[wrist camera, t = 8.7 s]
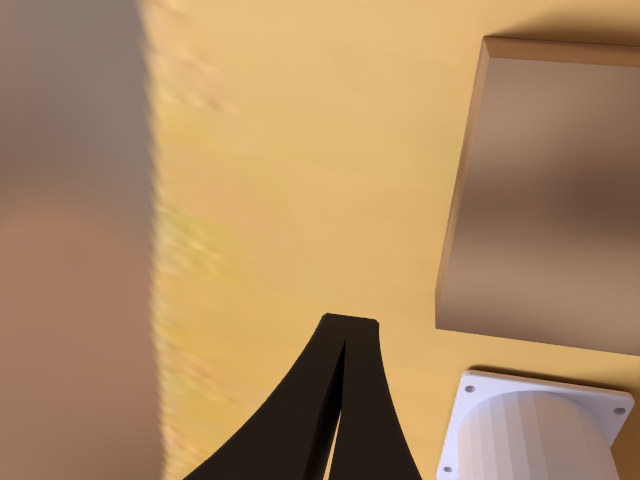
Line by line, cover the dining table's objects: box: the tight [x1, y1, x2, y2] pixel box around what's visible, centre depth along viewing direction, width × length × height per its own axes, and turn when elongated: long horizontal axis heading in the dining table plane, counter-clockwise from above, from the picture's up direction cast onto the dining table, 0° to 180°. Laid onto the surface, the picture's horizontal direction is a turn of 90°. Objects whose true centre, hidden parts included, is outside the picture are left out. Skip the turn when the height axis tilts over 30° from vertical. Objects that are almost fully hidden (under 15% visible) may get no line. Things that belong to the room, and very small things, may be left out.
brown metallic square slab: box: [435, 37, 640, 356], centre depth 19 cm, size 11×11×2 cm
